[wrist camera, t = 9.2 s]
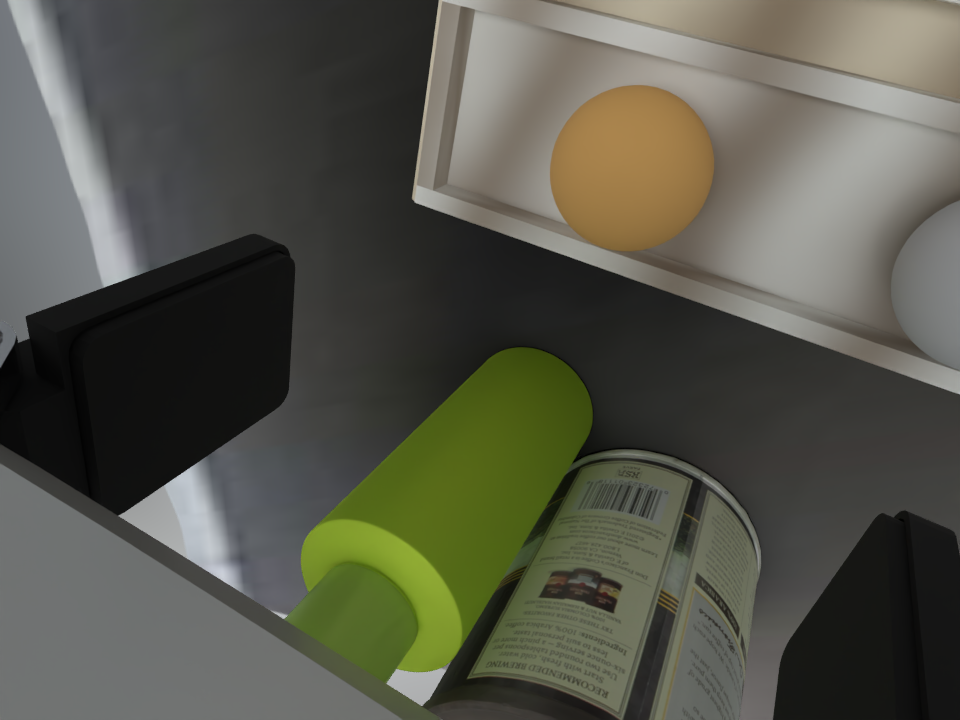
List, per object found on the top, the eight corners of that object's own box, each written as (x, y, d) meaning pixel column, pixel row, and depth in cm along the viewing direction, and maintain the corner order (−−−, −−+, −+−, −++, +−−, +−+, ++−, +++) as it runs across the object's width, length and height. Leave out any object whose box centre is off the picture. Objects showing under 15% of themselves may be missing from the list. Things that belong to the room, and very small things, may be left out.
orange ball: (750, 101, 21) (726, 122, 17) (694, 248, 24) (662, 295, 20) (601, 61, 23) (547, 72, 19) (564, 204, 25) (509, 239, 21)
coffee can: (608, 638, 36) (503, 929, 25) (507, 480, 34) (345, 714, 23) (806, 610, 30) (789, 975, 19) (696, 417, 28) (604, 690, 17)
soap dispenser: (438, 368, 33) (56, 702, 17) (563, 332, 29) (224, 717, 13) (487, 470, 35) (175, 870, 18) (612, 449, 31) (359, 927, 15)
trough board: (1662, -387, 13) (1831, -468, 11) (1044, 409, 23) (1066, 451, 21) (515, -446, 19) (476, -503, 17) (423, 194, 29) (390, 209, 27)
